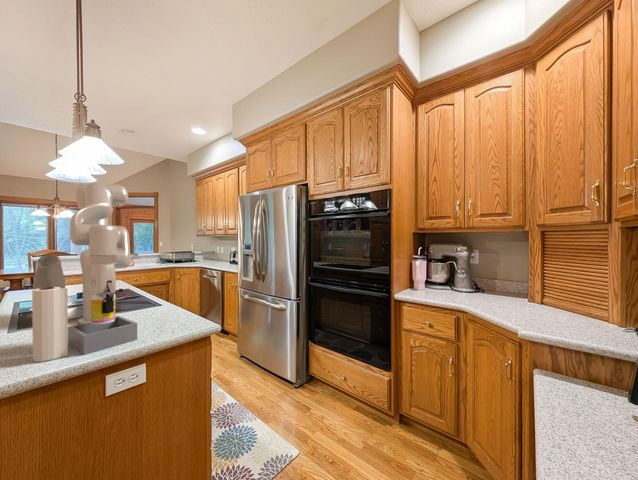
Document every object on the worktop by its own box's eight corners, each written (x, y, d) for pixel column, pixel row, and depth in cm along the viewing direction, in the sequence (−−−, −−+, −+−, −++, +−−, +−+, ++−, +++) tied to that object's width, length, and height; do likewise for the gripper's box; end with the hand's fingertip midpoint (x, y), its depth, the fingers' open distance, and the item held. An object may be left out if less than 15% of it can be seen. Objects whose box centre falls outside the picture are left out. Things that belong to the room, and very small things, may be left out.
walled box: (67, 344, 92) (67, 326, 91) (118, 331, 104) (118, 315, 104) (84, 355, 84) (84, 336, 83) (137, 339, 96) (137, 323, 96)
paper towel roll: (28, 360, 80) (27, 289, 79) (54, 352, 85) (54, 285, 85) (41, 365, 77) (41, 291, 77) (67, 356, 83) (67, 287, 82)
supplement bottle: (101, 326, 90) (101, 288, 89) (85, 325, 91) (85, 287, 91) (120, 320, 96) (120, 285, 96) (105, 319, 98) (105, 284, 97)
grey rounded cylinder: (31, 317, 119) (30, 254, 119) (62, 312, 128) (61, 253, 127) (35, 321, 114) (35, 256, 113) (68, 316, 122) (67, 254, 121)
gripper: (80, 259, 95) (80, 309, 95) (100, 262, 85) (100, 318, 86) (105, 258, 101) (106, 305, 101) (126, 260, 92) (126, 312, 92)
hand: (103, 310), depth 94 cm, fingers closed on supplement bottle, 6 cm apart
